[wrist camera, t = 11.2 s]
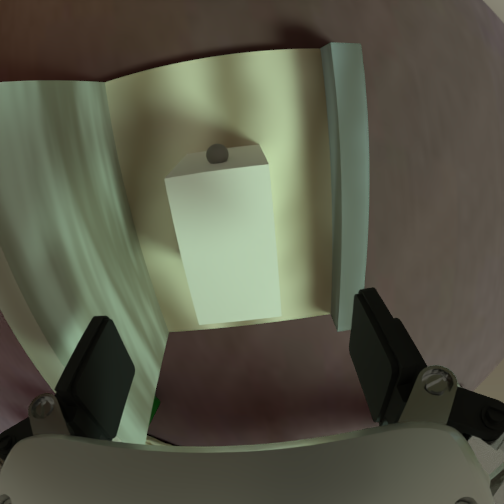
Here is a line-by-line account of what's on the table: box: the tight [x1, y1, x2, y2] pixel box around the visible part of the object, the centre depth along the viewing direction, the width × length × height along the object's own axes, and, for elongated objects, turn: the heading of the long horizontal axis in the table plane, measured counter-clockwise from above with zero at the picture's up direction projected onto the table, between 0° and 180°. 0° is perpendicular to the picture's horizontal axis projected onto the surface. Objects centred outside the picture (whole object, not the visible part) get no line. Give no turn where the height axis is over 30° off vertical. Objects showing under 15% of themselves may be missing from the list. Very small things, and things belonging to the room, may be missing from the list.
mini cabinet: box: [164, 144, 282, 325], centre depth 19 cm, size 5×10×7 cm, turn 6°
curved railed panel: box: [0, 43, 369, 444], centre depth 17 cm, size 19×22×14 cm
